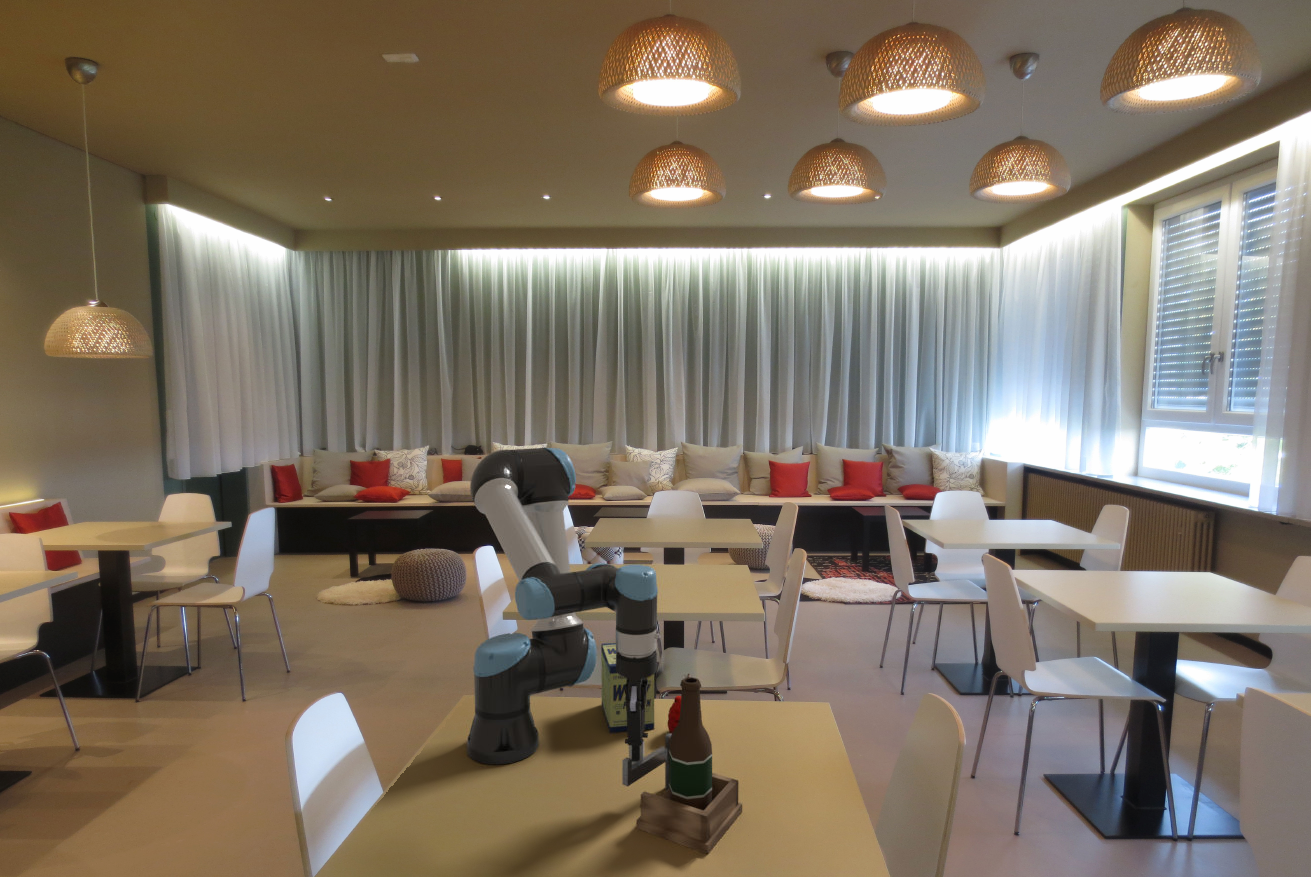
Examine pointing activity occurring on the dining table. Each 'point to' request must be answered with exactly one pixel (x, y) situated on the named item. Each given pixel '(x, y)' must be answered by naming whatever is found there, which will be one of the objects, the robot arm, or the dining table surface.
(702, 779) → the beer bottle
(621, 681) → the protein box
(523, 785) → the dining table surface
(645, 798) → the wooden crate
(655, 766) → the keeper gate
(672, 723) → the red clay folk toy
